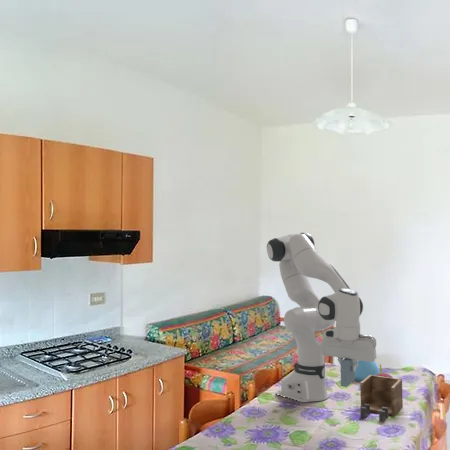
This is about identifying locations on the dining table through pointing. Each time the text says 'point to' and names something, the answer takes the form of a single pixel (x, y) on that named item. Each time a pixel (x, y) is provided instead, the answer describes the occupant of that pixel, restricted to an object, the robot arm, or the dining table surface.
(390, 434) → the dining table surface
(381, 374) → the cupcake
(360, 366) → the sugar bowl
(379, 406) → the cabinet
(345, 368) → the door
